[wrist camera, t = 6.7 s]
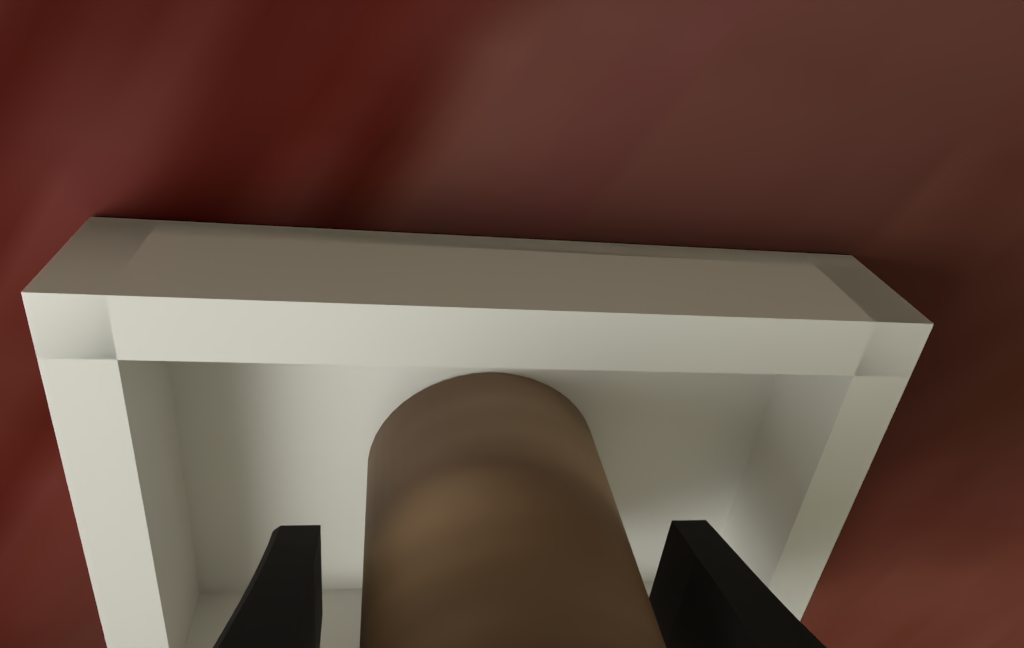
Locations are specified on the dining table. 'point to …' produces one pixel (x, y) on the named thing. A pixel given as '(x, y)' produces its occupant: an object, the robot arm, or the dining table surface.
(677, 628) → the robot arm
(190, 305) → the tray
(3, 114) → the dining table surface
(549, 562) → the cylinder
